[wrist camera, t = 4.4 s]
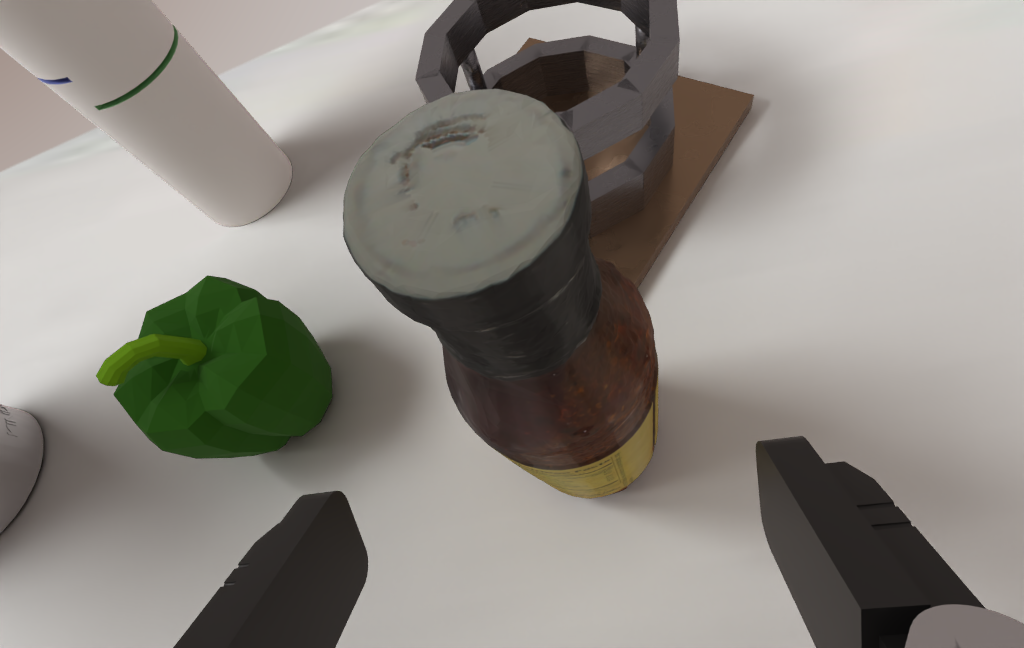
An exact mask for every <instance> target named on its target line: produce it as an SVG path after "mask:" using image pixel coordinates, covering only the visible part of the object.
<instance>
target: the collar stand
mask: <svg viewBox="0 0 1024 648" xmlns="http://www.w3.org/2000/svg"><path fill="white" fill-rule="evenodd" d="M575 2H579V3H584V4H589V5H594V6H598V7H603V8H608V9H612V10H617V11H621V12H622V13H624V14H625V15H626V16H627V17H628V18H629V19H630V20H631V21H632V22H633V23H634V24H635V31H636V47H635V46H631V45H627V44H623V43H619V42H615V41H610V40H606V39H602V38H598V37H594V36H583V37H576V38H570V39H563V40H557V41H551V42H544V41H540V40H536V39H532V38H529V39H528V40H527V41H526V42H525V44H524V45H523V46H522V47H521V49H520V50H519V51H518V52H517V54H516V55H514V56H512V57H510V58H508V59H506V60H505V61H503V62H501V63H499V64H497V65H495V66H494V67H492V68H490V69H488V70H487V71H486V72H485V73H484V75H483V74H482V71H481V68H480V65H479V62H478V59H477V56H476V53H475V50H474V48H475V47H476V45H477V44H478V43H479V42H480V41H481V40H482V38H483V37H484V36H485V35H486V34H487V33H488V32H490V31H492V30H494V29H496V28H498V27H499V26H501V25H503V24H505V23H507V22H509V21H510V20H512V19H514V18H516V17H518V16H520V15H521V14H523V13H525V12H527V11H529V10H534V9H540V8H546V7H552V6H558V5H563V4H569V3H575ZM679 42H680V39H679V26H678V13H677V0H454V1H453V2H452V3H451V4H450V5H449V6H448V8H447V9H446V10H445V11H444V12H443V13H442V14H441V16H440V17H439V18H438V19H437V20H436V21H435V22H434V24H433V25H432V26H431V27H430V28H429V29H428V30H427V32H426V33H425V36H424V41H423V45H422V50H421V55H420V60H419V65H418V69H417V74H416V79H415V80H416V82H417V84H418V86H419V88H420V90H421V92H422V94H423V97H424V99H425V101H426V103H427V104H428V103H431V102H433V101H436V100H438V99H440V98H442V97H445V96H447V95H450V94H452V93H454V92H455V86H456V80H457V74H458V68H459V66H460V65H461V66H462V69H463V72H464V74H465V77H466V80H467V82H468V85H469V88H470V91H471V90H484V89H501V90H506V91H511V92H515V93H519V94H523V95H527V96H529V97H531V98H534V99H536V100H538V101H541V102H543V103H544V104H545V105H546V106H547V107H548V108H549V109H551V110H552V111H553V112H554V113H555V114H557V115H558V116H559V117H560V118H561V119H563V120H564V122H565V123H566V125H567V127H568V128H569V129H570V131H571V132H572V133H573V134H574V136H575V138H576V140H577V142H578V144H579V146H580V150H581V153H582V157H583V160H584V164H585V168H586V172H587V175H588V185H589V193H590V199H591V208H592V217H591V225H590V233H589V236H588V239H589V246H590V248H591V252H592V253H593V255H594V256H595V257H597V258H602V259H604V260H605V261H608V262H611V263H613V264H614V265H615V267H616V269H617V270H618V271H619V272H620V273H621V274H622V276H624V277H626V278H628V279H630V280H631V281H632V282H633V284H634V285H635V286H636V288H638V287H639V285H640V284H641V282H642V280H643V279H644V277H645V276H646V274H647V273H648V271H649V269H650V268H651V266H652V265H653V263H654V261H655V260H656V258H657V257H658V255H659V254H660V252H661V250H662V249H663V247H664V246H665V244H666V242H667V241H668V239H669V238H670V236H671V235H672V233H673V231H674V230H675V228H676V227H677V225H678V223H679V222H680V220H681V219H682V217H683V216H684V214H685V212H686V211H687V209H688V208H689V206H690V204H691V203H692V201H693V200H694V198H695V197H696V195H697V193H698V192H699V190H700V189H701V187H702V185H703V184H704V182H705V181H706V179H707V178H708V176H709V174H710V173H711V171H712V170H713V168H714V166H715V165H716V163H717V162H718V160H719V158H720V157H721V155H722V154H723V152H724V151H725V149H726V147H727V146H728V144H729V143H730V141H731V139H732V138H733V136H734V135H735V133H736V132H737V130H738V128H739V127H740V125H741V124H742V122H743V120H744V119H745V117H746V116H747V114H748V113H749V111H750V109H751V107H752V102H753V97H754V95H752V94H748V93H744V92H740V91H736V90H732V89H728V88H724V87H720V86H716V85H713V84H709V83H705V82H701V81H697V80H693V79H689V78H685V77H681V76H678V60H679Z"/></svg>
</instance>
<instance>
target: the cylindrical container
mask: <svg viewBox="0 0 1024 648" xmlns="http://www.w3.org/2000/svg"><path fill="white" fill-rule="evenodd" d="M0 48H1V49H2V50H3V51H5V52H6V53H7V54H8V55H10V56H11V57H12V58H13V59H15V60H16V61H17V62H18V63H19V64H21V65H22V66H23V67H24V68H26V69H27V70H28V71H29V72H31V73H32V74H33V75H34V76H36V77H37V78H38V79H39V80H40V81H42V82H43V83H44V84H45V85H46V86H48V87H49V88H50V89H51V90H53V91H54V92H55V93H56V94H58V95H59V96H60V97H61V98H62V99H64V100H65V101H66V102H67V103H69V104H70V105H71V106H72V107H74V108H75V109H76V110H77V111H79V112H80V113H81V114H82V115H83V116H85V117H86V118H87V119H89V120H90V121H91V122H92V123H93V124H95V125H96V126H97V127H98V128H99V129H101V130H102V131H103V132H104V133H105V134H107V135H108V136H109V137H110V138H112V139H113V140H114V141H115V142H117V143H118V144H119V145H120V146H121V147H123V148H124V149H125V150H126V151H128V152H129V153H130V154H131V155H132V156H134V157H135V158H136V159H137V160H139V161H140V162H141V163H142V164H144V165H145V166H146V167H147V168H148V169H150V170H151V171H152V172H153V173H155V174H156V175H157V176H158V177H160V178H161V179H162V180H163V181H164V182H166V183H167V184H168V185H169V186H171V187H172V188H173V189H174V190H176V191H177V192H178V193H179V194H181V195H182V196H183V197H184V198H185V199H187V200H188V201H189V202H190V203H192V204H193V205H194V206H195V207H197V208H198V209H199V210H200V211H201V212H203V213H204V214H205V215H206V216H208V217H209V218H210V219H211V220H213V221H214V222H215V223H217V224H219V225H222V226H227V227H236V226H242V225H246V224H248V223H251V222H253V221H256V220H257V219H259V218H261V217H263V216H264V215H266V214H267V213H268V212H269V211H271V210H272V209H273V208H274V207H275V206H276V205H277V204H278V203H279V202H280V201H281V199H282V198H283V196H284V195H285V194H286V192H287V190H288V188H289V185H290V182H291V179H292V165H291V162H290V160H289V158H288V157H287V156H286V155H285V154H284V153H283V151H282V150H281V149H280V148H279V147H278V146H277V145H276V143H275V142H274V141H273V140H272V139H271V138H270V136H269V135H268V134H267V133H266V132H265V131H264V129H263V128H262V127H261V126H260V125H259V124H258V123H257V121H256V120H255V119H254V118H253V117H252V116H251V114H250V113H249V112H248V111H247V110H246V109H245V107H244V106H243V105H242V104H241V103H240V102H239V101H238V99H237V98H236V97H235V96H234V95H233V94H232V92H231V91H230V90H229V89H228V88H227V87H226V85H225V84H224V83H223V82H222V81H221V80H220V79H219V77H218V76H217V75H216V74H215V73H214V72H213V70H212V69H211V68H210V67H209V66H208V65H207V63H206V62H205V61H204V60H203V59H202V58H201V57H200V55H199V54H198V53H197V52H196V51H195V50H194V48H193V47H192V46H191V45H190V44H189V43H188V42H187V40H186V39H185V38H184V37H183V36H182V35H181V33H180V32H179V31H178V30H177V29H176V28H175V26H173V25H172V24H171V22H170V21H169V19H168V18H167V17H166V16H165V15H164V14H163V13H162V11H161V10H160V9H159V8H158V7H157V6H156V4H155V3H154V2H153V1H152V0H0Z"/></svg>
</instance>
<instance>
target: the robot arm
mask: <svg viewBox="0 0 1024 648" xmlns="http://www.w3.org/2000/svg"><path fill="white" fill-rule="evenodd" d="M42 457H43V435H42V431H41V427H40V426H39V424H38V422H37V421H36V419H35V418H34V417H33V416H32V415H30V414H29V413H28V412H25V411H22V410H19V409H16V408H12V407H8V406H4V405H2V404H0V533H1V532H2V531H3V530H4V529H5V528H6V527H7V525H8V524H9V523H10V522H11V521H12V520H13V519H14V517H15V516H16V515H17V513H18V512H19V510H20V509H21V507H22V506H23V504H24V503H25V502H26V500H27V498H28V496H29V494H30V492H31V490H32V488H33V486H34V484H35V482H36V479H37V476H38V473H39V470H40V467H41V462H42ZM756 461H757V473H758V485H759V497H760V508H761V517H762V523H763V527H764V531H765V535H766V538H767V541H768V544H769V547H770V549H771V552H772V554H773V556H774V558H775V560H776V562H777V565H778V567H779V569H780V571H781V573H782V575H783V577H784V580H785V582H786V584H787V586H788V588H789V590H790V592H791V595H792V597H793V599H794V601H795V603H796V605H797V607H798V610H799V612H800V614H801V616H802V618H803V620H804V622H805V625H806V627H807V629H808V631H809V633H810V635H811V637H812V640H813V642H814V644H815V646H816V648H1024V624H1023V623H1021V622H1019V621H1017V620H1015V619H1012V618H1010V617H1008V616H1005V615H1003V614H1000V613H997V612H995V611H991V610H988V609H986V608H985V607H984V606H983V605H982V604H981V603H980V602H979V600H978V599H977V598H976V597H975V596H974V595H973V593H972V592H971V591H970V590H969V589H968V588H967V586H966V585H965V584H964V583H963V582H962V581H961V580H960V578H959V577H958V576H957V575H956V574H955V573H954V571H953V570H952V569H951V568H950V567H949V566H948V564H947V563H946V562H945V561H944V560H943V559H942V557H941V556H940V555H939V554H938V553H937V552H936V550H935V549H934V548H933V547H932V546H931V545H930V543H929V542H928V541H927V540H926V539H925V538H924V536H923V535H922V534H921V533H920V532H919V531H918V530H917V528H916V527H912V525H911V521H910V520H909V519H908V518H907V517H906V516H905V514H904V513H903V512H902V511H901V510H900V509H899V507H895V505H894V502H893V500H892V499H891V498H890V497H889V496H888V495H887V493H886V492H885V491H884V490H883V489H882V488H881V486H880V485H879V484H878V483H877V482H876V481H875V480H874V479H873V478H871V477H870V476H868V475H866V474H865V473H863V472H861V471H860V470H858V469H856V468H854V467H853V466H851V465H849V464H848V463H846V462H836V463H827V464H825V463H824V462H823V461H822V459H821V458H820V457H819V455H818V454H817V453H816V451H815V450H814V449H813V447H812V446H811V445H810V443H809V442H808V441H807V440H806V438H804V437H803V436H799V437H790V438H782V439H774V440H765V441H758V442H757V444H756ZM238 565H239V567H238V568H236V569H234V570H233V572H232V573H231V574H230V576H229V577H228V578H227V579H226V581H225V582H224V583H225V584H224V587H220V588H219V590H218V591H217V592H216V594H215V595H214V596H213V597H212V599H211V600H210V601H209V603H208V604H207V605H206V606H205V608H204V609H203V610H202V612H201V613H200V614H199V615H198V617H197V618H196V619H195V621H194V622H193V623H192V624H191V626H190V627H189V628H188V630H187V631H186V632H185V633H184V635H183V636H182V637H181V639H180V640H179V641H178V642H177V644H176V645H175V646H174V648H335V647H336V645H337V643H338V640H339V638H340V636H341V634H342V632H343V630H344V627H345V625H346V623H347V621H348V619H349V617H350V615H351V612H352V610H353V608H354V606H355V604H356V602H357V600H358V597H359V595H360V593H361V591H362V589H363V587H364V584H365V582H366V578H367V573H368V556H367V551H366V548H365V545H364V543H363V540H362V537H361V535H360V532H359V529H358V527H357V524H356V521H355V519H354V516H353V513H352V511H351V508H350V505H349V503H348V500H347V498H346V496H345V495H344V494H343V493H342V492H340V491H333V492H324V493H316V494H308V495H303V496H301V497H300V498H299V499H298V500H297V501H296V503H295V504H294V505H293V507H292V508H291V509H290V511H289V512H288V513H287V515H286V516H285V517H284V519H283V520H282V521H281V522H280V523H278V524H277V525H276V526H275V527H273V528H272V529H271V530H270V531H269V532H267V533H266V534H265V535H264V536H263V537H261V538H260V539H259V540H258V541H257V542H255V543H254V545H253V546H252V547H251V549H250V550H249V551H248V552H247V554H246V555H245V556H244V558H243V559H242V560H241V561H240V563H239V564H238Z"/></svg>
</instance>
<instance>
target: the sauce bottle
mask: <svg viewBox="0 0 1024 648" xmlns="http://www.w3.org/2000/svg"><path fill="white" fill-rule="evenodd" d="M591 217H592V208H591V199H590V193H589V185H588V175H587V172H586V168H585V164H584V160H583V157H582V153H581V150H580V146H579V144H578V142H577V140H576V138H575V136H574V134H573V133H572V132H571V131H570V129H569V128H568V127H567V125H566V123H565V122H564V120H563V119H561V118H560V117H559V116H558V115H557V114H555V113H554V112H553V111H552V110H551V109H549V108H548V107H547V106H546V105H545V104H544V103H543V102H541V101H538V100H536V99H534V98H531V97H529V96H527V95H523V94H519V93H515V92H511V91H506V90H501V89H484V90H471V91H466V92H460V93H452V94H450V95H447V96H445V97H442V98H440V99H438V100H436V101H433V102H431V103H428V104H426V105H424V106H422V107H420V108H419V109H417V110H415V111H413V112H412V113H410V114H408V115H407V116H406V117H405V118H403V119H402V120H401V121H400V122H398V123H397V124H396V125H394V126H393V127H392V128H390V129H389V130H387V131H386V132H385V133H383V134H382V135H381V136H379V137H378V138H377V139H376V141H375V142H374V143H373V145H372V146H371V147H370V148H369V149H368V150H367V151H366V152H365V153H364V154H363V155H362V156H361V157H360V159H359V161H358V163H357V164H356V166H355V168H354V170H353V172H352V174H351V176H350V179H349V181H348V185H347V188H346V191H345V194H344V212H343V221H344V228H343V237H344V240H345V242H346V245H347V247H348V250H349V252H350V254H351V256H352V257H353V259H354V261H355V263H356V264H357V265H358V267H359V268H360V269H361V271H362V272H363V273H364V275H365V276H366V277H367V278H368V279H369V280H370V281H371V282H372V283H373V284H374V285H375V286H376V288H377V289H378V290H379V291H380V292H381V293H382V294H383V296H384V297H385V298H386V300H387V301H388V302H389V303H391V304H392V305H393V306H394V307H395V308H396V309H398V310H399V311H400V312H402V313H403V314H405V315H406V316H408V317H409V318H411V319H413V320H414V321H416V322H419V323H422V324H424V325H427V326H429V327H431V328H432V329H433V330H434V331H435V332H436V334H437V336H438V338H439V340H440V342H441V343H442V346H443V356H444V365H445V372H446V379H447V384H448V387H449V390H450V393H451V396H452V398H453V400H454V402H455V404H456V406H457V408H458V410H459V411H460V413H461V415H462V416H463V418H464V420H465V421H466V422H467V423H468V424H469V426H470V427H471V428H472V429H473V430H474V432H475V433H476V434H477V435H478V436H479V437H481V438H482V439H483V440H484V441H485V442H486V443H487V444H488V445H489V446H491V447H492V448H493V449H495V450H496V451H498V452H499V453H501V454H502V455H503V456H505V457H506V458H508V459H509V460H511V461H512V462H513V463H515V464H516V465H518V466H519V467H521V468H522V469H524V470H525V471H527V472H528V473H530V474H532V475H533V476H535V477H537V478H538V479H540V480H542V481H544V482H545V483H547V484H548V485H550V486H552V487H553V488H555V489H557V490H559V491H561V492H563V493H566V494H568V495H572V496H576V497H582V498H596V497H602V496H606V495H609V494H613V493H616V492H619V491H622V490H624V489H626V488H627V486H628V485H629V484H630V483H632V482H633V481H634V480H635V479H636V478H638V476H639V475H640V474H641V473H642V472H643V471H644V469H645V468H646V466H647V465H648V463H649V461H650V459H651V457H652V455H653V450H654V445H655V444H656V440H657V432H658V359H657V353H656V349H655V342H654V329H653V326H652V322H651V317H650V314H649V311H648V309H647V308H646V306H645V303H644V301H643V298H642V296H641V295H640V293H639V291H638V289H637V288H636V286H635V285H634V284H633V282H632V281H631V280H630V279H628V278H626V277H624V276H622V274H621V273H620V272H619V271H618V270H617V269H616V267H615V265H614V264H613V263H611V262H608V261H605V260H604V259H602V258H597V257H595V256H594V255H593V253H592V252H591V248H590V246H589V239H588V236H589V233H590V225H591Z"/></svg>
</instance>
